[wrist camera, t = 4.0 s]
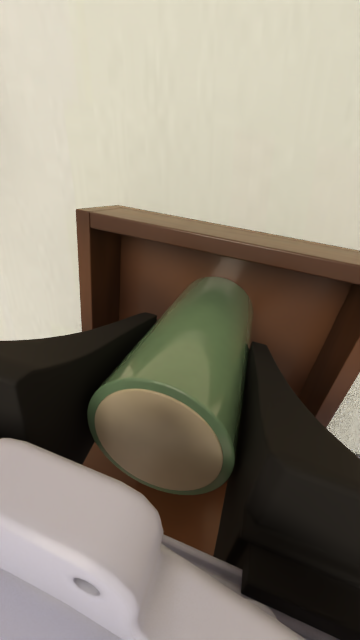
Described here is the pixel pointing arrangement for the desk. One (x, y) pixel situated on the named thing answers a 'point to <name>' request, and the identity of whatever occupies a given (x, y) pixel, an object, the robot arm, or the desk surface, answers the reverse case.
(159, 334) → the candle jar
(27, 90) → the desk surface
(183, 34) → the desk surface
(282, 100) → the desk surface
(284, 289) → the chest
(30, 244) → the desk surface
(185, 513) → the lid
